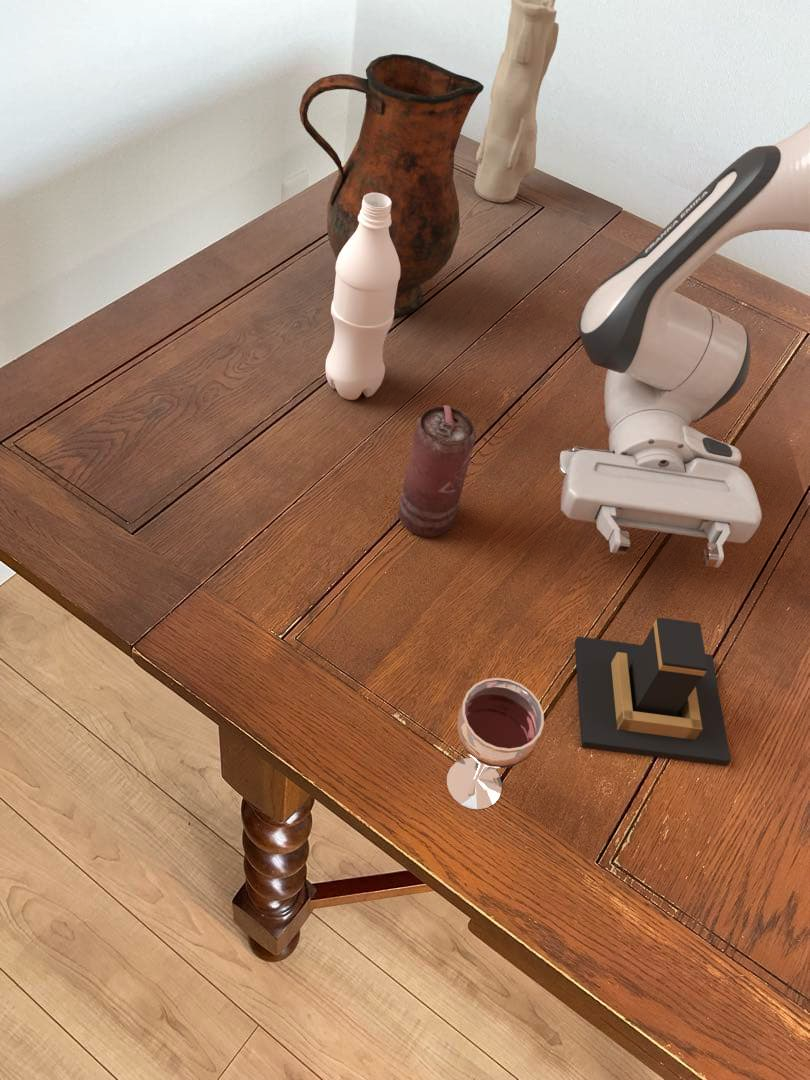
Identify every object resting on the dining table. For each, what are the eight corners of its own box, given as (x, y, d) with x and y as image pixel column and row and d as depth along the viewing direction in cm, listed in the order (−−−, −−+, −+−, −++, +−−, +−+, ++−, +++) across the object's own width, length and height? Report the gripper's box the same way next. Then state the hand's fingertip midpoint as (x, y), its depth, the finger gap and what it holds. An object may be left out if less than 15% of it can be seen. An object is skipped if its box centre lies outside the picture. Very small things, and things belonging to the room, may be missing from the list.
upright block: (667, 676, 95) (700, 622, 89) (673, 721, 92) (708, 669, 85) (626, 670, 95) (657, 616, 88) (631, 715, 92) (663, 663, 85)
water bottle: (336, 410, 115) (358, 222, 97) (315, 372, 119) (332, 185, 101) (391, 400, 118) (422, 215, 99) (368, 363, 122) (394, 179, 103)
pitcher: (456, 332, 129) (505, 111, 106) (297, 336, 123) (313, 104, 101) (428, 260, 139) (467, 44, 116) (280, 260, 134) (291, 35, 111)
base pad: (708, 659, 99) (719, 643, 96) (726, 766, 91) (739, 750, 88) (574, 641, 98) (582, 624, 96) (581, 747, 90) (590, 731, 88)
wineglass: (475, 735, 89) (503, 663, 80) (527, 789, 86) (562, 721, 77) (420, 776, 86) (443, 705, 77) (473, 834, 83) (503, 767, 74)
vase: (489, 173, 158) (533, -27, 135) (533, 194, 155) (585, -6, 133) (461, 191, 153) (502, -13, 130) (506, 214, 150) (556, 9, 128)
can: (446, 495, 109) (469, 401, 98) (457, 538, 105) (483, 444, 94) (393, 497, 107) (411, 401, 97) (403, 540, 103) (423, 445, 93)
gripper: (565, 423, 101) (572, 520, 92) (754, 451, 102) (780, 549, 93) (550, 465, 106) (555, 562, 97) (731, 492, 107) (753, 589, 98)
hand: (667, 556), depth 95 cm, fingers open, 8 cm apart
